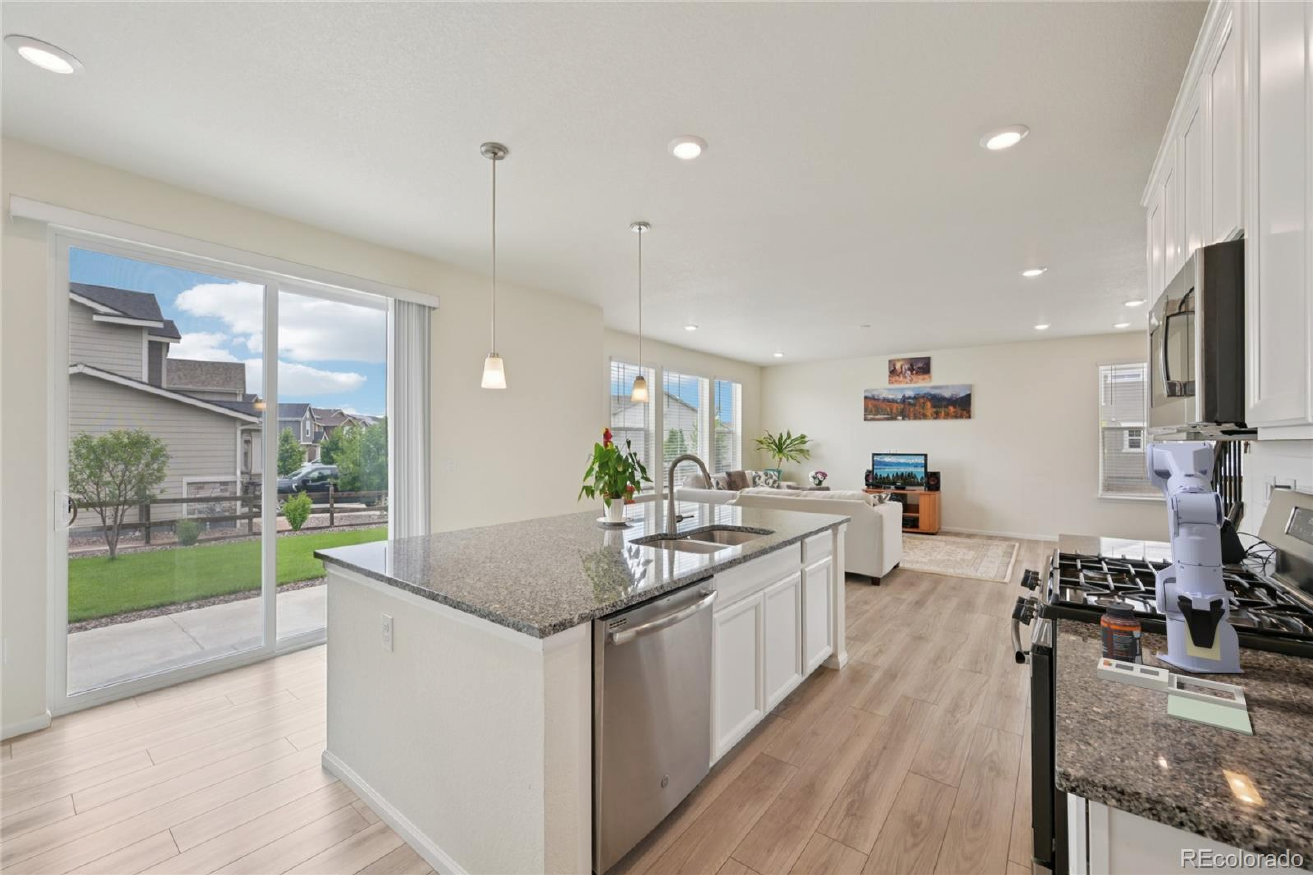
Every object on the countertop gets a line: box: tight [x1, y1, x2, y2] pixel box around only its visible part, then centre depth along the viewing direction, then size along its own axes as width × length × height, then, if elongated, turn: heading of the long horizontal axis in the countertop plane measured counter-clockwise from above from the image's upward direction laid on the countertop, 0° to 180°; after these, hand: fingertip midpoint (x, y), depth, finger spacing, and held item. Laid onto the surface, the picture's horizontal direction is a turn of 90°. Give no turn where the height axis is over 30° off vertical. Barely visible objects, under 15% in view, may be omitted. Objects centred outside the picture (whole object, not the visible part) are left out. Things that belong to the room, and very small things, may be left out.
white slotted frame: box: [1096, 656, 1248, 712], centre depth 96 cm, size 18×9×2 cm, turn 46°
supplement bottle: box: [1100, 603, 1144, 665], centre depth 105 cm, size 6×6×11 cm
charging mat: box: [1166, 694, 1253, 737], centre depth 85 cm, size 9×9×1 cm
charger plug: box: [1185, 619, 1221, 661], centre depth 93 cm, size 4×4×6 cm
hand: (1202, 643), depth 93 cm, fingers closed on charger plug, 4 cm apart
